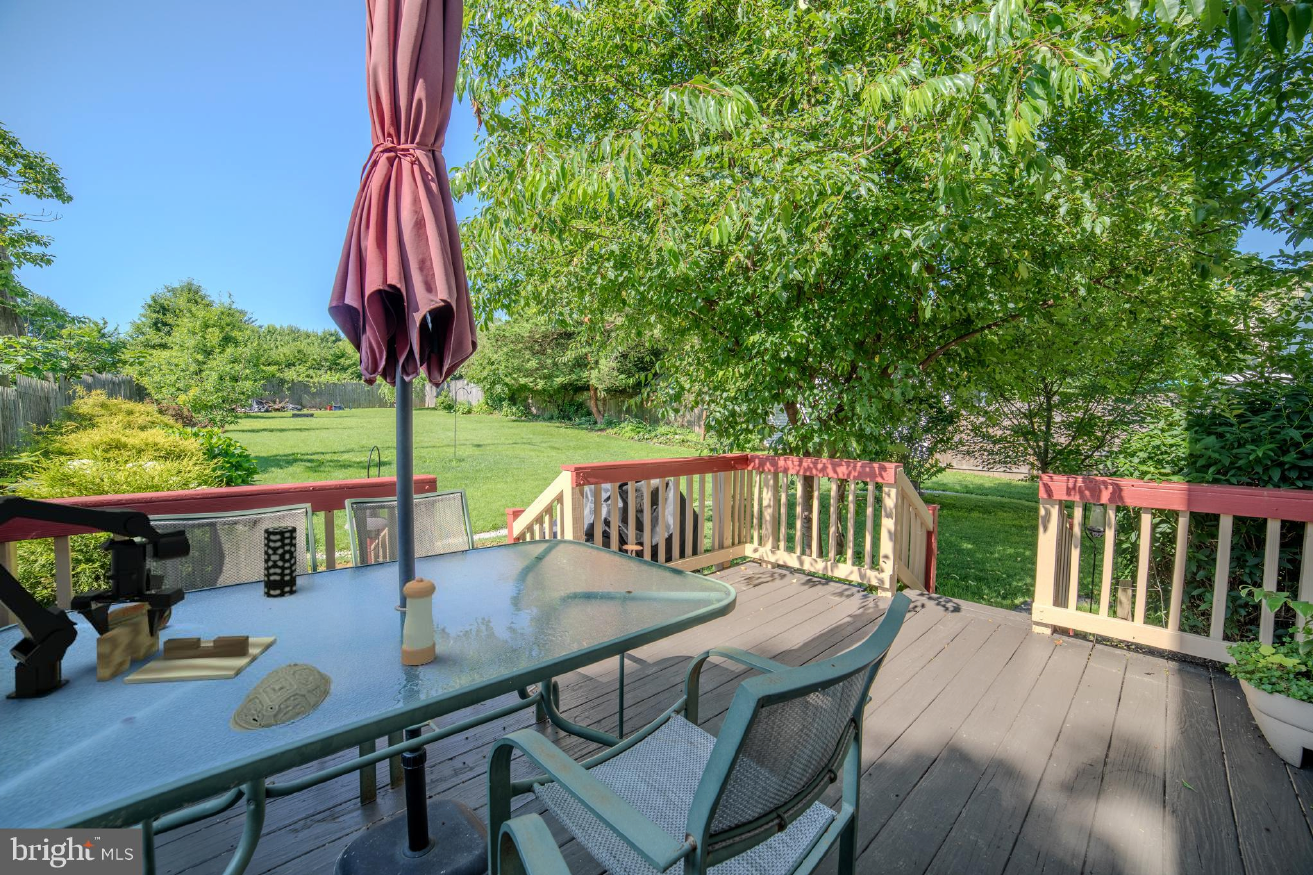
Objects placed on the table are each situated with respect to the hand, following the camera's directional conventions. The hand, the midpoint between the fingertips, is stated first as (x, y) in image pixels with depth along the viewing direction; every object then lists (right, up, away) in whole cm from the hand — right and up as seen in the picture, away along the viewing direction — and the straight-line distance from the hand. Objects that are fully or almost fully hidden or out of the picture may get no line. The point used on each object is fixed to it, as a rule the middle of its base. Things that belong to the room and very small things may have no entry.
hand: (129, 637), depth 127 cm
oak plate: (0, -6, 0) cm, 6 cm away
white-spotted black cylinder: (0, -4, +50) cm, 50 cm away
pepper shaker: (+61, -8, +7) cm, 62 cm away
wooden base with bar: (+15, -6, +3) cm, 16 cm away
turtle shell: (+43, -9, -13) cm, 45 cm away
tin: (-12, -5, +15) cm, 20 cm away
